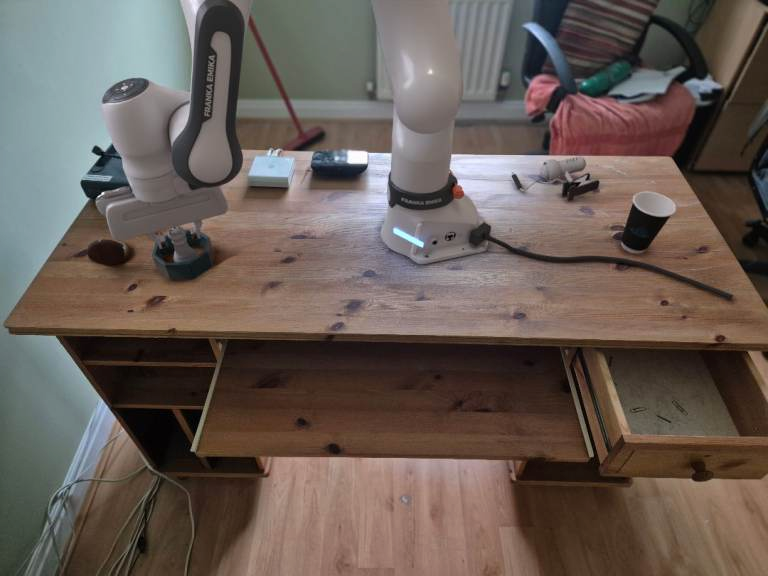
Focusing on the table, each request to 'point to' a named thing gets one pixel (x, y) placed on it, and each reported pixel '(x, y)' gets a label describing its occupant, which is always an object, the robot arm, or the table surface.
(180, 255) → the rook chess piece
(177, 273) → the octagonal bangle
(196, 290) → the table surface
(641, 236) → the dixie cup
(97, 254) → the dark brown rounded lump
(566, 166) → the clip-on lamp
